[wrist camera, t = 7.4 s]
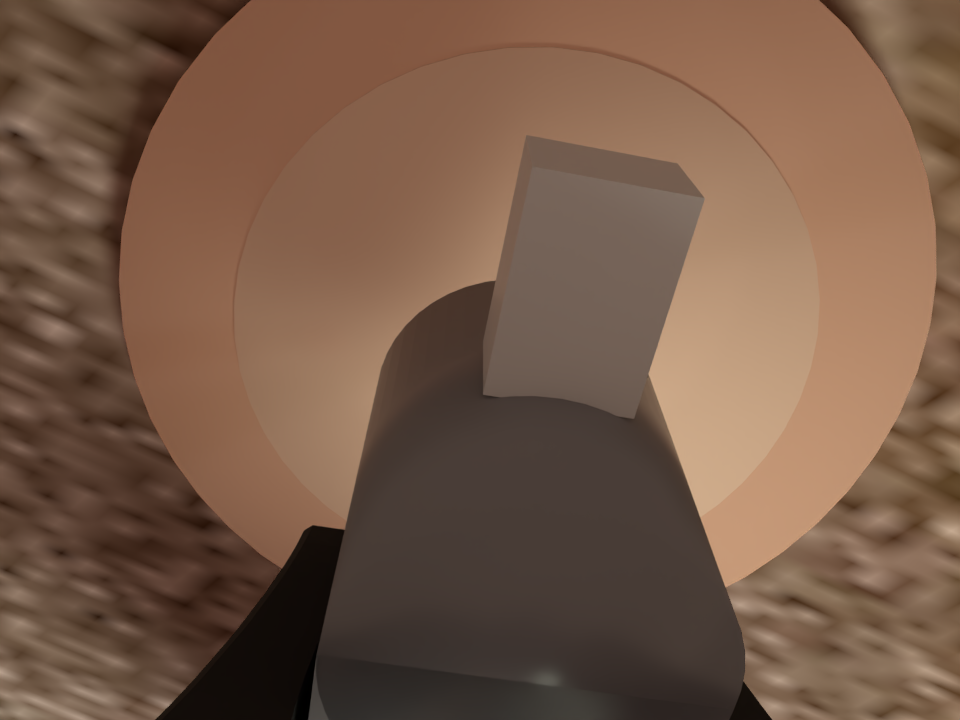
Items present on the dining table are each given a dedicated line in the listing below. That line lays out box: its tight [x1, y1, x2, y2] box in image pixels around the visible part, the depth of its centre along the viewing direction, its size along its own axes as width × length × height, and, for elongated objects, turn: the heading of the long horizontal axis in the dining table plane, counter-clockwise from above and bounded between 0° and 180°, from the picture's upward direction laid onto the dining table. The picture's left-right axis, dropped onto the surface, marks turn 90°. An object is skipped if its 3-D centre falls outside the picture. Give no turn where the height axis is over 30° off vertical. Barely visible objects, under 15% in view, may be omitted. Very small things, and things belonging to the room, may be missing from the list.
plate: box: [119, 0, 937, 587], centre depth 19 cm, size 18×18×1 cm
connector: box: [308, 135, 745, 720], centre depth 11 cm, size 11×4×5 cm, turn 170°
